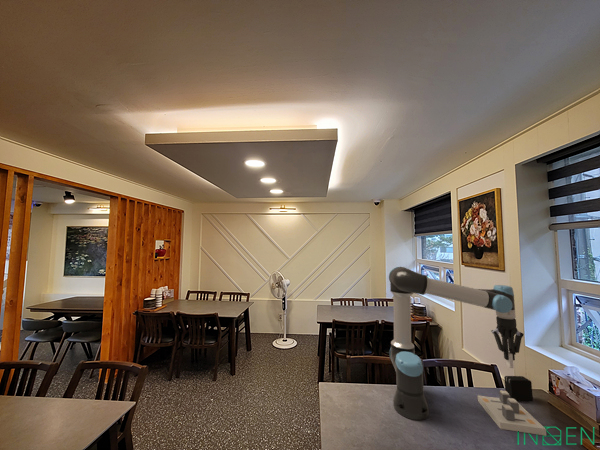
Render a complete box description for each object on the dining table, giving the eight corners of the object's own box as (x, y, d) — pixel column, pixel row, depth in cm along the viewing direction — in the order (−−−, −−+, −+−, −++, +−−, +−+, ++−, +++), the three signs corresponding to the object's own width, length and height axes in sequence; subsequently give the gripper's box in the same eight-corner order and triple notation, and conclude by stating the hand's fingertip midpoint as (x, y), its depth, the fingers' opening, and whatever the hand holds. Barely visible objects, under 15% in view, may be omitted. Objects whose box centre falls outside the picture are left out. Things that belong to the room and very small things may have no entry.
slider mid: (511, 412, 106) (510, 401, 107) (507, 408, 109) (506, 397, 110) (519, 413, 106) (518, 402, 106) (515, 409, 108) (514, 398, 109)
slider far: (503, 403, 112) (502, 393, 112) (499, 399, 115) (499, 389, 115) (510, 404, 111) (510, 394, 112) (507, 400, 114) (506, 390, 115)
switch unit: (500, 428, 100) (499, 422, 100) (477, 400, 118) (477, 395, 119) (546, 435, 96) (545, 428, 97) (515, 405, 115) (515, 399, 115)
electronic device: (533, 402, 118) (531, 380, 119) (512, 401, 118) (511, 380, 119) (525, 396, 122) (523, 376, 123) (505, 396, 122) (504, 375, 123)
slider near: (506, 419, 101) (505, 408, 102) (502, 415, 104) (501, 403, 105) (514, 421, 101) (514, 409, 101) (510, 416, 104) (509, 404, 104)
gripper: (495, 318, 117) (499, 369, 115) (526, 320, 114) (531, 372, 112) (486, 314, 124) (490, 362, 122) (516, 315, 122) (520, 364, 119)
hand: (510, 366), depth 117 cm, fingers closed
